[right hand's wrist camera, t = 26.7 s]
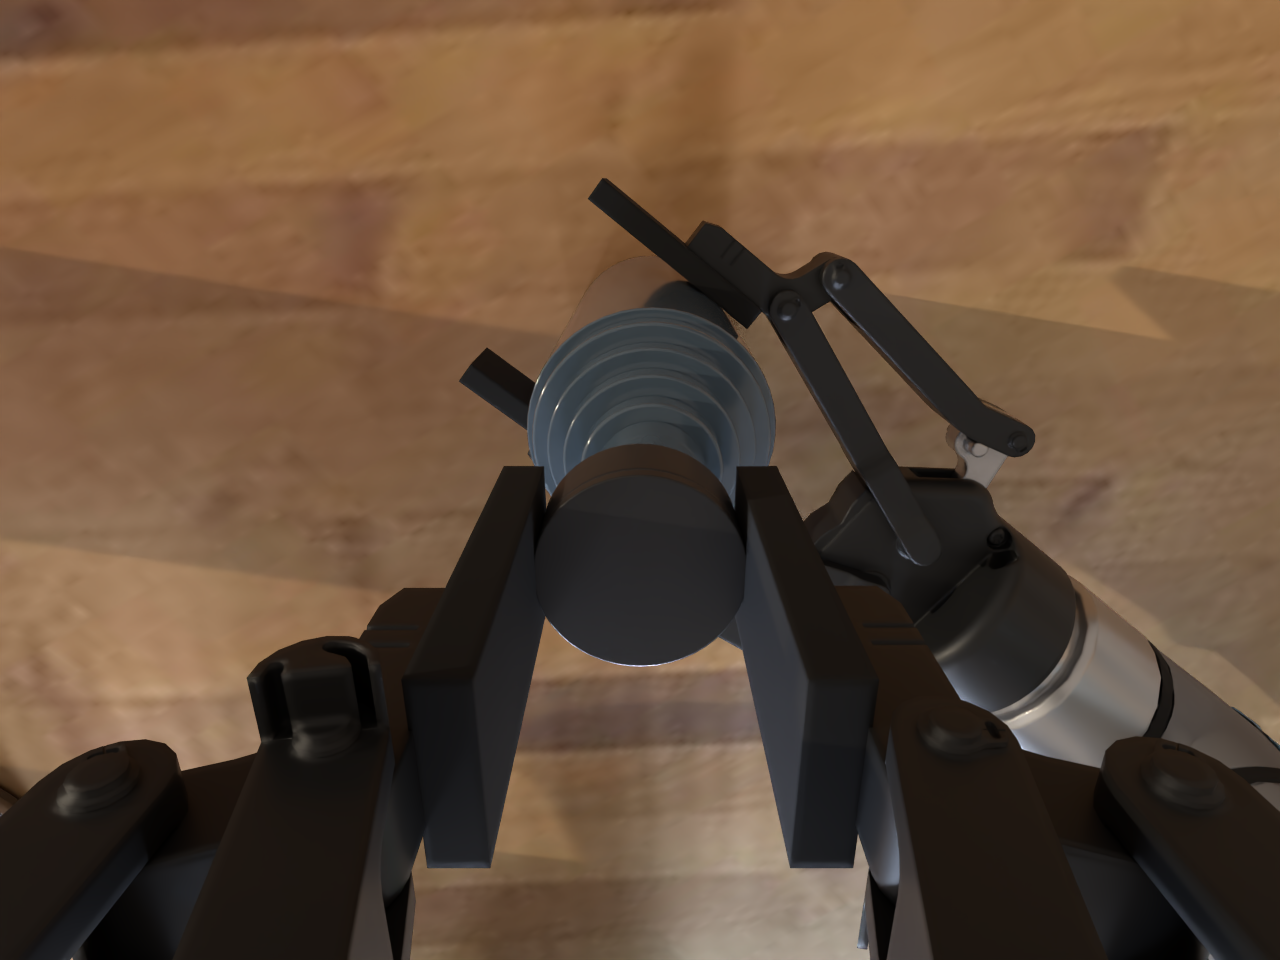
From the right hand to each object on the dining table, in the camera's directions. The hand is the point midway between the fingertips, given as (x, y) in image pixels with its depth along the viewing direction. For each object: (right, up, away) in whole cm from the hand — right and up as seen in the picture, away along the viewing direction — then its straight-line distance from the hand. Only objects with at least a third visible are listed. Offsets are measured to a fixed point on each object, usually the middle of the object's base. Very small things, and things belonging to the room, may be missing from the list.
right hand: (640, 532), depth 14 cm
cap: (0, 0, -1) cm, 1 cm away
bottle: (0, +7, +18) cm, 20 cm away
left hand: (-4, +8, +11) cm, 14 cm away
